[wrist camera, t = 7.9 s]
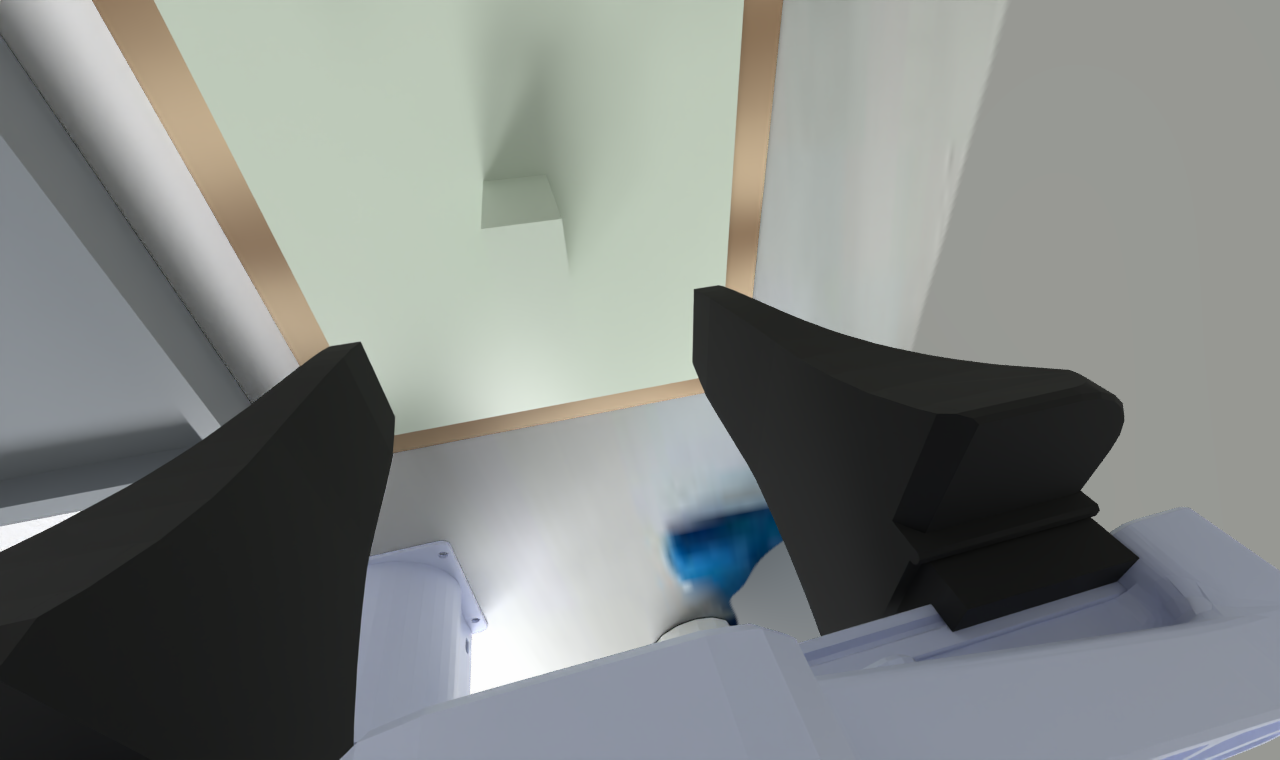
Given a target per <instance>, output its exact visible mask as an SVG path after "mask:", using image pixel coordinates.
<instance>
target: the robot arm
mask: <svg viewBox="0 0 1280 760" xmlns="http://www.w3.org/2000/svg"><path fill="white" fill-rule="evenodd" d="M692 363H693V366H694V368H695V371H696V373H697V376H698V378H699V381H700V383H701V385H702V388H703V390H704V392H705V394H706V396H707V398H708V400H709V401H710V403H711V405H712V407H713V408H714V410H715V412H716V413H717V415H718V417H719V418H720V420H721V422H722V423H723V425H724V426H725V428H726V430H727V431H728V433H729V435H730V436H731V438H732V440H733V441H734V443H735V444H736V446H737V448H738V449H739V451H740V453H741V454H742V456H743V458H744V459H745V461H746V462H747V464H748V466H749V468H750V470H751V471H752V473H753V475H754V477H755V479H756V481H757V483H758V485H759V487H760V489H761V492H762V494H763V496H764V498H765V500H766V502H767V504H768V507H769V509H770V511H771V513H772V515H773V518H774V520H775V522H776V525H777V527H778V529H779V532H780V534H781V536H782V538H783V541H784V543H785V545H786V548H787V550H788V552H789V555H790V557H791V560H792V562H793V565H794V567H795V570H796V572H797V575H798V577H799V580H800V582H801V585H802V587H803V590H804V592H805V595H806V597H807V600H808V602H809V605H810V608H811V610H812V613H813V616H814V618H815V621H816V624H817V626H818V630H819V632H820V635H821V637H817V638H813V639H810V640H807V641H804V642H800V643H798V642H797V640H796V638H795V637H792V636H790V635H787V634H785V633H782V632H779V631H775V630H772V629H768V628H765V627H761V626H758V625H754V624H743V625H735V626H728V627H721V628H714V629H707V630H700V631H697V632H693V633H690V634H686V635H682V636H679V637H675V638H672V639H668V640H665V641H661V642H657V643H654V644H650V645H647V646H643V647H639V648H636V649H632V650H629V651H625V652H622V653H618V654H614V655H611V656H607V657H604V658H600V659H596V660H593V661H589V662H586V663H582V664H578V665H575V666H571V667H568V668H564V669H561V670H557V671H553V672H550V673H546V674H543V675H539V676H535V677H532V678H528V679H525V680H521V681H518V682H514V683H510V684H507V685H503V686H500V687H496V688H492V689H489V690H485V691H482V692H478V693H474V694H471V695H470V672H471V638H472V634H474V633H478V632H482V631H484V630H485V629H486V628H487V622H486V620H485V617H484V615H483V613H482V611H481V609H480V607H479V605H478V602H477V600H476V598H475V596H474V594H473V592H472V590H471V587H470V585H469V583H468V581H467V579H466V577H465V575H464V572H463V570H462V568H461V566H460V564H459V562H458V560H457V557H456V555H455V553H454V551H453V549H452V547H451V545H450V543H449V542H447V541H436V542H431V543H427V544H423V545H418V546H414V547H409V548H405V549H400V550H396V551H391V552H387V553H383V554H378V555H374V556H370V551H371V546H372V542H373V538H374V533H375V529H376V525H377V521H378V517H379V513H380V509H381V504H382V500H383V496H384V492H385V488H386V484H387V479H388V475H389V471H390V466H391V462H392V457H393V446H394V432H395V415H394V413H393V411H392V409H391V406H390V404H389V402H388V400H387V398H386V395H385V393H384V391H383V389H382V387H381V385H380V382H379V380H378V378H377V376H376V374H375V371H374V369H373V367H372V365H371V363H370V361H369V358H368V356H367V354H366V352H365V350H364V347H363V345H362V343H361V341H360V342H354V343H347V344H341V345H335V346H329V347H327V348H326V349H324V350H322V351H321V352H319V353H318V354H316V355H315V356H313V357H312V358H311V359H309V360H308V361H307V362H305V363H304V364H303V365H301V366H300V367H299V368H297V369H296V370H295V371H294V372H292V373H291V374H290V375H288V376H287V377H286V378H285V379H283V380H282V381H281V382H280V383H278V384H277V385H276V386H274V387H273V388H272V389H271V390H269V391H268V392H267V393H265V394H264V395H263V396H262V397H260V398H259V399H258V400H257V401H255V402H254V403H253V404H251V405H250V406H249V407H247V408H246V409H244V410H243V411H242V412H240V413H239V414H238V415H236V416H235V417H233V418H232V419H231V420H229V421H228V422H227V423H225V424H224V425H222V426H221V427H220V428H218V429H217V430H216V431H214V432H213V433H211V434H210V435H209V436H207V437H206V438H204V439H203V440H201V441H200V442H198V443H197V444H196V445H194V446H193V447H191V448H189V449H188V450H186V451H185V452H183V453H182V454H180V455H179V456H177V457H176V458H174V459H172V460H171V461H169V462H167V463H166V464H164V465H163V466H161V467H159V468H158V469H156V470H154V471H153V472H151V473H150V474H148V475H146V476H145V477H143V478H141V479H140V480H138V481H136V482H134V483H133V484H131V485H129V486H127V487H125V488H124V489H122V490H120V491H118V492H116V493H114V494H113V495H111V496H109V497H107V498H105V499H103V500H101V501H100V502H98V503H96V504H94V505H92V506H90V507H88V508H87V509H85V510H83V511H81V512H79V513H77V514H76V515H74V516H72V517H70V518H68V519H66V520H64V521H63V522H61V523H59V524H57V525H55V526H53V527H51V528H49V529H47V530H45V531H43V532H41V533H39V534H37V535H35V536H33V537H30V538H28V539H26V540H24V541H22V542H20V543H18V544H16V545H14V546H12V547H10V548H8V549H6V550H4V551H2V552H0V760H1224V759H1227V758H1229V757H1232V756H1234V755H1237V754H1239V753H1242V752H1244V751H1247V750H1249V749H1252V748H1254V747H1257V746H1259V745H1262V744H1264V743H1266V742H1268V741H1270V740H1272V739H1274V738H1276V737H1278V736H1280V570H1278V569H1277V568H1275V567H1274V566H1272V565H1271V564H1270V563H1268V562H1267V561H1265V560H1264V559H1262V558H1261V557H1260V556H1258V555H1257V554H1255V553H1254V552H1252V551H1251V550H1250V549H1248V548H1247V547H1245V546H1244V545H1242V544H1241V543H1239V542H1238V541H1237V540H1235V539H1234V538H1232V537H1231V536H1229V535H1228V534H1227V533H1225V532H1224V531H1222V530H1221V529H1219V528H1218V527H1216V526H1215V525H1214V524H1212V523H1211V522H1209V521H1208V520H1206V519H1205V518H1204V517H1202V516H1201V515H1199V514H1198V513H1196V512H1195V511H1193V510H1192V509H1191V508H1189V507H1178V508H1174V509H1171V510H1167V511H1163V512H1160V513H1156V514H1153V515H1149V516H1145V517H1142V518H1139V519H1135V520H1132V521H1129V522H1127V523H1125V524H1122V525H1121V526H1119V527H1118V528H1116V529H1114V530H1113V531H1111V532H1110V533H1109V532H1107V531H1106V530H1105V529H1104V528H1103V527H1102V526H1100V525H1099V524H1098V523H1097V522H1096V521H1094V520H1093V519H1092V518H1091V517H1093V516H1096V515H1097V513H1098V512H1099V511H1100V510H1099V507H1098V504H1097V503H1095V502H1094V501H1093V500H1091V499H1090V498H1089V497H1088V496H1086V495H1085V494H1084V493H1083V492H1082V491H1080V490H1081V489H1082V488H1083V486H1084V485H1085V483H1086V482H1087V481H1088V480H1089V478H1090V477H1091V475H1092V474H1093V473H1094V471H1095V470H1096V469H1097V467H1098V466H1099V465H1100V463H1101V462H1102V461H1103V459H1104V458H1105V457H1106V455H1107V454H1108V453H1109V451H1110V450H1111V448H1112V446H1113V445H1114V443H1115V442H1116V440H1117V438H1118V436H1119V435H1120V433H1121V429H1122V426H1123V423H1124V411H1123V403H1122V402H1121V401H1120V400H1119V399H1118V398H1117V397H1116V396H1115V395H1114V394H1112V393H1110V392H1109V391H1107V390H1105V389H1104V388H1102V387H1101V386H1099V385H1097V384H1096V383H1094V382H1092V381H1090V380H1089V379H1087V378H1086V377H1084V376H1082V375H1080V374H1078V373H1076V372H1073V371H1070V370H1061V369H1048V368H1036V367H1021V366H1009V365H996V364H988V363H980V362H972V361H964V360H957V359H950V358H944V357H938V356H932V355H926V354H921V353H915V352H911V351H906V350H902V349H897V348H892V347H888V346H884V345H879V344H875V343H872V342H868V341H865V340H861V339H858V338H854V337H851V336H847V335H844V334H841V333H838V332H835V331H832V330H829V329H826V328H823V327H821V326H818V325H815V324H813V323H810V322H807V321H804V320H802V319H799V318H797V317H795V316H792V315H790V314H787V313H785V312H783V311H780V310H778V309H776V308H773V307H771V306H769V305H767V304H764V303H762V302H760V301H758V300H755V299H753V298H751V297H749V296H746V295H744V294H742V293H739V292H737V291H735V290H732V289H730V288H727V287H724V286H720V285H716V286H710V287H704V288H697V289H694V304H693V350H692ZM441 552H446V553H448V554H446V555H440V554H439V553H441ZM474 618H479V619H476V620H473V619H474Z"/></svg>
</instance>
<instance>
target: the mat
mask: <svg viewBox="0 0 1280 760" xmlns="http://www.w3.org/2000/svg"><path fill="white" fill-rule="evenodd" d="M92 1H93V3H94V5H95V6H96V8H97V10H98V12H99V13H100V15H101V17H102V19H103V21H104V22H105V24H106V26H107V28H108V29H109V31H110V33H111V35H112V36H113V38H114V40H115V42H116V43H117V45H118V47H119V49H120V50H121V52H122V54H123V56H124V57H125V59H126V61H127V63H128V65H129V66H130V68H131V70H132V72H133V73H134V75H135V77H136V79H137V80H138V82H139V84H140V86H141V87H142V89H143V91H144V93H145V94H146V96H147V98H148V100H149V101H150V103H151V105H152V107H153V108H154V110H155V112H156V114H157V116H158V117H159V119H160V121H161V123H162V124H163V126H164V128H165V130H166V131H167V133H168V135H169V137H170V138H171V140H172V142H173V144H174V145H175V147H176V149H177V151H178V152H179V154H180V156H181V158H182V160H183V161H184V163H185V165H186V167H187V168H188V170H189V172H190V174H191V175H192V177H193V179H194V181H195V182H196V184H197V186H198V188H199V189H200V191H201V193H202V195H203V196H204V198H205V200H206V202H207V204H208V205H209V207H210V209H211V211H212V212H213V214H214V216H215V218H216V219H217V221H218V223H219V225H220V226H221V228H222V230H223V232H224V233H225V235H226V237H227V239H228V240H229V242H230V244H231V246H232V247H233V249H234V251H235V253H236V255H237V256H238V258H239V260H240V262H241V263H242V265H243V267H244V269H245V270H246V272H247V274H248V276H249V277H250V279H251V281H252V283H253V284H254V286H255V288H256V290H257V291H258V293H259V295H260V297H261V299H262V300H263V302H264V304H265V306H266V307H267V309H268V311H269V313H270V314H271V316H272V318H273V320H274V321H275V323H276V325H277V327H278V328H279V330H280V332H281V334H282V335H283V337H284V339H285V341H286V343H287V344H288V346H289V348H290V350H291V351H292V353H293V355H294V357H295V358H296V360H297V362H298V364H299V365H300V366H301V365H303V364H304V363H305V362H307V361H308V360H309V359H311V358H312V357H313V356H315V355H316V354H318V353H319V352H321V351H322V350H324V349H326V348H327V347H329V344H328V342H327V340H326V338H325V336H324V334H323V332H322V330H321V328H320V326H319V324H318V322H317V320H316V319H315V317H314V315H313V313H312V311H311V309H310V307H309V305H308V303H307V301H306V299H305V297H304V295H303V293H302V291H301V289H300V287H299V285H298V283H297V281H296V279H295V277H294V275H293V273H292V271H291V269H290V267H289V265H288V263H287V261H286V260H285V258H284V256H283V254H282V252H281V250H280V248H279V246H278V244H277V242H276V240H275V238H274V236H273V234H272V232H271V230H270V228H269V226H268V224H267V222H266V220H265V218H264V216H263V214H262V212H261V210H260V208H259V206H258V204H257V202H256V200H255V199H254V197H253V195H252V193H251V191H250V189H249V187H248V185H247V183H246V181H245V179H244V177H243V175H242V173H241V171H240V169H239V167H238V165H237V163H236V161H235V159H234V157H233V155H232V153H231V151H230V149H229V147H228V145H227V143H226V141H225V140H224V138H223V136H222V134H221V132H220V130H219V128H218V126H217V124H216V122H215V120H214V118H213V116H212V114H211V112H210V110H209V108H208V106H207V104H206V102H205V100H204V98H203V96H202V94H201V92H200V90H199V88H198V86H197V84H196V82H195V81H194V79H193V77H192V75H191V73H190V71H189V69H188V67H187V65H186V63H185V61H184V59H183V57H182V55H181V53H180V51H179V49H178V47H177V45H176V43H175V41H174V39H173V37H172V35H171V33H170V31H169V29H168V27H167V25H166V23H165V21H164V20H163V18H162V16H161V14H160V12H159V10H158V8H157V6H156V4H155V2H154V0H92ZM782 5H783V0H744V8H743V24H742V39H741V54H740V70H739V85H738V100H737V116H736V131H735V146H734V162H733V177H732V192H731V208H730V223H729V238H728V254H727V269H726V284H725V287H727V288H730V289H732V290H735V291H737V292H739V293H742V294H744V295H746V296H749V297H751V298H752V296H753V286H754V277H755V267H756V257H757V247H758V238H759V228H760V218H761V209H762V199H763V189H764V179H765V170H766V160H767V150H768V141H769V131H770V121H771V112H772V102H773V92H774V82H775V73H776V63H777V53H778V44H779V34H780V24H781V14H782ZM701 393H705V392H704V390H703V388H702V385H701V383H700V381H699V378H697V379H692V380H686V381H681V382H676V383H670V384H665V385H660V386H654V387H649V388H644V389H638V390H633V391H628V392H623V393H617V394H612V395H607V396H601V397H596V398H591V399H585V400H580V401H575V402H569V403H564V404H559V405H553V406H548V407H543V408H537V409H532V410H527V411H521V412H516V413H511V414H506V415H500V416H495V417H490V418H484V419H479V420H474V421H468V422H463V423H458V424H452V425H447V426H442V427H436V428H431V429H426V430H420V431H415V432H410V433H404V434H399V435H394V446H393V453H396V452H401V451H407V450H412V449H417V448H422V447H427V446H432V445H438V444H443V443H448V442H453V441H458V440H463V439H469V438H474V437H479V436H484V435H489V434H494V433H500V432H505V431H510V430H515V429H520V428H525V427H531V426H536V425H541V424H546V423H551V422H556V421H562V420H567V419H572V418H577V417H582V416H587V415H593V414H598V413H603V412H608V411H613V410H618V409H624V408H629V407H634V406H639V405H644V404H649V403H655V402H660V401H665V400H670V399H675V398H680V397H686V396H691V395H696V394H701Z"/></svg>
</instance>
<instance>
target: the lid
mask: <svg viewBox="0 0 1280 760" xmlns="http://www.w3.org/2000/svg"><path fill="white" fill-rule="evenodd" d="M154 2H155V4H156V6H157V8H158V10H159V12H160V14H161V16H162V18H163V20H164V21H165V23H166V25H167V27H168V29H169V31H170V33H171V35H172V37H173V39H174V41H175V43H176V45H177V47H178V49H179V51H180V53H181V55H182V57H183V59H184V61H185V63H186V65H187V67H188V69H189V71H190V73H191V75H192V77H193V79H194V81H195V82H196V84H197V86H198V88H199V90H200V92H201V94H202V96H203V98H204V100H205V102H206V104H207V106H208V108H209V110H210V112H211V114H212V116H213V118H214V120H215V122H216V124H217V126H218V128H219V130H220V132H221V134H222V136H223V138H224V140H225V141H226V143H227V145H228V147H229V149H230V151H231V153H232V155H233V157H234V159H235V161H236V163H237V165H238V167H239V169H240V171H241V173H242V175H243V177H244V179H245V181H246V183H247V185H248V187H249V189H250V191H251V193H252V195H253V197H254V199H255V200H256V202H257V204H258V206H259V208H260V210H261V212H262V214H263V216H264V218H265V220H266V222H267V224H268V226H269V228H270V230H271V232H272V234H273V236H274V238H275V240H276V242H277V244H278V246H279V248H280V250H281V252H282V254H283V256H284V258H285V260H286V261H287V263H288V265H289V267H290V269H291V271H292V273H293V275H294V277H295V279H296V281H297V283H298V285H299V287H300V289H301V291H302V293H303V295H304V297H305V299H306V301H307V303H308V305H309V307H310V309H311V311H312V313H313V315H314V317H315V319H316V320H317V322H318V324H319V326H320V328H321V330H322V332H323V334H324V336H325V338H326V340H327V342H328V344H329V346H335V345H341V344H347V343H354V342H360V341H361V343H362V345H363V347H364V350H365V352H366V354H367V356H368V358H369V361H370V363H371V365H372V367H373V369H374V371H375V374H376V376H377V378H378V380H379V382H380V385H381V387H382V389H383V391H384V393H385V395H386V398H387V400H388V402H389V404H390V406H391V409H392V411H393V413H394V415H395V432H394V435H399V434H404V433H410V432H415V431H420V430H426V429H431V428H436V427H442V426H447V425H452V424H458V423H463V422H468V421H474V420H479V419H484V418H490V417H495V416H500V415H506V414H511V413H516V412H521V411H527V410H532V409H537V408H543V407H548V406H553V405H559V404H564V403H569V402H575V401H580V400H585V399H591V398H596V397H601V396H607V395H612V394H617V393H623V392H628V391H633V390H638V389H644V388H649V387H654V386H660V385H665V384H670V383H676V382H681V381H686V380H692V379H697V378H698V376H697V373H696V371H695V368H694V366H693V363H692V350H693V304H694V289H697V288H704V287H710V286H716V285H720V286H724V287H725V284H726V269H727V254H728V238H729V223H730V208H731V192H732V177H733V162H734V146H735V131H736V116H737V100H738V85H739V70H740V54H741V39H742V24H743V8H744V0H154Z"/></svg>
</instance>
